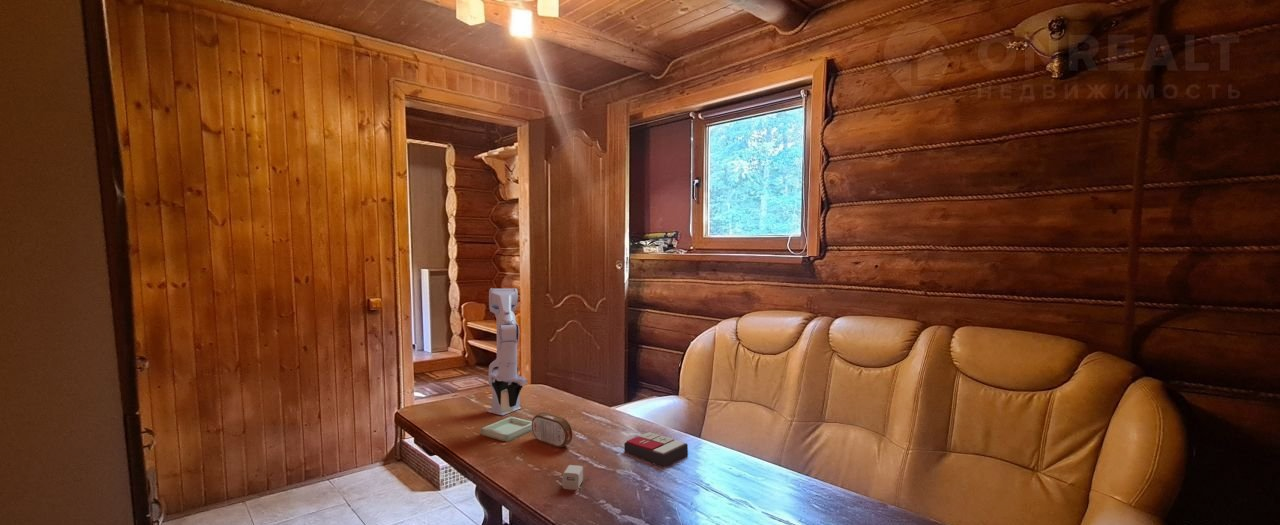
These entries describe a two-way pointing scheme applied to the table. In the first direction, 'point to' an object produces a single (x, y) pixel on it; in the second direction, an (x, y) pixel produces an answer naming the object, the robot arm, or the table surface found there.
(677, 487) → the table surface
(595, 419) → the table surface
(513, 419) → the trough tray
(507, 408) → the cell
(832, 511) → the table surface
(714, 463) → the table surface
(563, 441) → the tin
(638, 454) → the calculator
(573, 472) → the usb wall charger
